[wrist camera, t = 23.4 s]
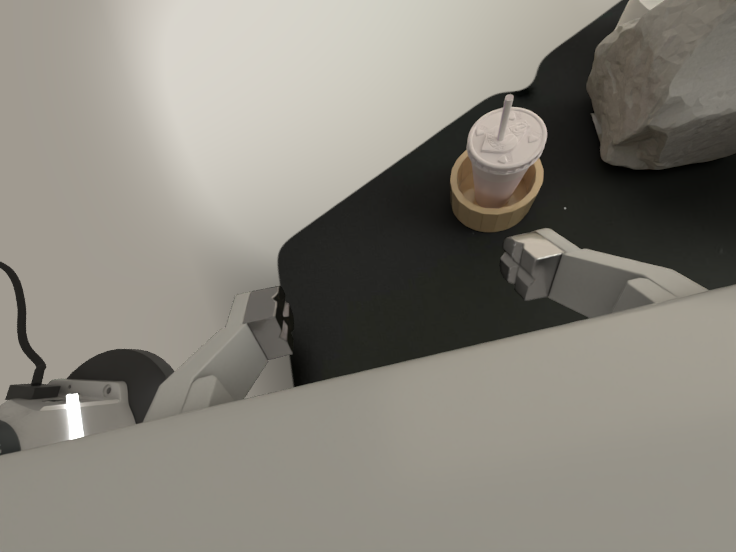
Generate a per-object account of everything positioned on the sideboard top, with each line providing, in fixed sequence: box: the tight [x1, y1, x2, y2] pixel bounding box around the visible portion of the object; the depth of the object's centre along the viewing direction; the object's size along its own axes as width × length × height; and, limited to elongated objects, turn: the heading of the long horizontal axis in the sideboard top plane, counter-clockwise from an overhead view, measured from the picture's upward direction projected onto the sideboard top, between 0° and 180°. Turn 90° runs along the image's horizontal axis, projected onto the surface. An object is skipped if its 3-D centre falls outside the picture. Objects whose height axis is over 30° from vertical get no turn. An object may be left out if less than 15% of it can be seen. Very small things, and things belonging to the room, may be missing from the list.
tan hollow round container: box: [450, 150, 544, 232], centre depth 32 cm, size 9×9×4 cm
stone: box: [586, 0, 736, 170], centre depth 25 cm, size 12×12×15 cm
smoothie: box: [467, 95, 547, 209], centre depth 27 cm, size 6×6×14 cm
